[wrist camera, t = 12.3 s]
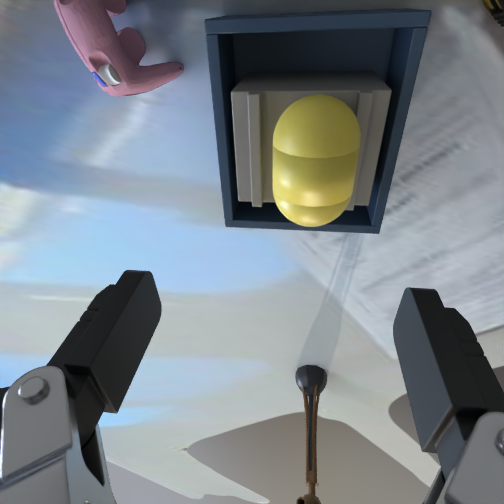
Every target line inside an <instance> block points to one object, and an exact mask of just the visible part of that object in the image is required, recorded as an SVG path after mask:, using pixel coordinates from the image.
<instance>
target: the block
mask: <svg viewBox="0 0 504 504" xmlns="http://www.w3.org/2000/svg"><path fill="white" fill-rule="evenodd" d="M391 92H392V90H391V89H390V88H389V87H388V86H387V85H386V84H385V82H384V81H383V80H382V79H381V78H380V77H379V76H378V75H377V74H376V73H375V72H374V71H328V72H272V73H247V74H246V75H245V76H244V77H243V79H242V80H241V81H240V82H239V83H238V84H237V86H236V87H235V88H234V89H233V90H232V91H231V101H232V115H233V130H234V145H235V159H236V174H237V188H238V200H239V201H251V202H252V206H253V207H262V204H263V202H275V199H274V196H273V134H274V130H275V127H276V124H277V122H278V120H279V118H280V117H281V115H282V114H283V112H284V111H285V110H286V109H287V108H288V107H289V106H290V105H291V104H293V103H294V102H295V101H297V100H299V99H301V98H303V97H306V96H310V95H315V94H324V95H329V96H333V97H336V98H337V99H339V100H341V101H343V102H344V103H345V104H346V105H347V106H349V107H350V109H351V110H352V111H353V113H354V114H355V116H356V118H357V120H358V123H359V126H360V133H361V141H360V150H359V156H358V162H357V168H356V174H355V180H354V187H353V193H352V196H351V199H350V202H349V204H348V205H347V207H346V209H345V210H354V205H367V206H368V205H369V201H370V196H371V191H372V186H373V181H374V176H375V171H376V166H377V161H378V157H379V152H380V147H381V142H382V137H383V132H384V127H385V122H386V117H387V112H388V107H389V102H390V97H391Z"/></svg>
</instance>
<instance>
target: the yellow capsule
mask: <svg viewBox="0 0 504 504" xmlns="http://www.w3.org/2000/svg"><path fill="white" fill-rule="evenodd" d="M360 141H361V133H360V126H359V123H358V120H357V118H356V116H355V114H354V113H353V111H352V110H351V109H350V107H349V106H347V105H346V104H345V103H344V102H343V101H341V100H339V99H337V98H336V97H333V96H329V95H324V94H315V95H310V96H306V97H303V98H301V99H299V100H297V101H295V102H294V103H293V104H291V105H290V106H289V107H288V108H287V109H286V110H285V111H284V112H283V114H282V115H281V117H280V118H279V120H278V122H277V124H276V127H275V130H274V134H273V196H274V199H275V202H276V205H277V207H278V208H279V210H280V212H281V213H282V214H283V215H284V216H285V217H286V218H287V219H289V220H290V221H292V222H294V223H296V224H298V225H301V226H307V227H316V226H321V225H324V224H327V223H330V222H331V221H333V220H335V219H336V218H337V217H339V216H340V215H341V214H342V212H343V211H344V210H345V209H346V207H347V205H348V204H349V202H350V199H351V196H352V193H353V187H354V180H355V174H356V168H357V162H358V156H359V150H360Z"/></svg>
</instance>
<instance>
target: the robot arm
mask: <svg viewBox="0 0 504 504" xmlns="http://www.w3.org/2000/svg"><path fill="white" fill-rule="evenodd" d="M160 317H161V301H160V298H159V295H158V291H157V288H156V285H155V281H154V278H153V275H152V273H151V272H150V271H138V270H126V271H125V272H124V273H123V274H122V276H121V277H120V279H119V280H118V282H117V283H116V285H111V284H110V285H109V286H107V287H106V288H105V289H104V290H102V291H101V292H100V293H99V294H97V295H96V296H95V298H94V299H93V301H92V302H91V303H90V305H89V306H88V308H87V311H85V312H84V313H83V315H82V316H81V318H80V321H79V322H77V323H76V325H75V326H74V327H73V329H72V330H71V332H70V333H69V335H68V336H67V337H66V339H65V340H64V342H63V343H62V344H61V346H60V347H59V349H58V350H57V352H56V353H55V354H54V356H53V357H52V359H51V360H50V361H49V363H48V364H47V365H46V366H43V367H39V368H36V369H33V370H31V371H29V372H27V373H26V374H24V375H23V376H21V377H20V378H19V379H17V380H16V381H15V382H14V383H13V384H12V386H10V387H5V388H0V504H117V503H116V500H115V498H114V496H113V493H112V489H111V485H110V480H109V475H108V470H107V465H106V459H105V454H104V449H103V443H102V438H101V433H100V428H99V425H98V421H99V419H100V417H101V415H102V413H103V412H109V413H118V410H119V408H120V406H121V404H122V402H123V399H124V397H125V395H126V393H127V391H128V389H129V386H130V384H131V382H132V380H133V378H134V375H135V373H136V371H137V369H138V367H139V364H140V362H141V360H142V358H143V356H144V353H145V351H146V349H147V347H148V345H149V343H150V340H151V338H152V336H153V334H154V332H155V329H156V327H157V325H158V323H159V320H160ZM393 337H394V343H395V347H396V351H397V354H398V358H399V362H400V366H401V370H402V374H403V378H404V382H405V386H406V390H407V394H408V398H409V402H410V406H411V409H412V414H413V418H414V422H415V425H416V430H417V434H418V437H419V441H420V446H421V450H422V452H430V453H437V454H438V458H439V461H440V465H441V468H440V469H439V471H438V473H437V475H436V477H435V479H434V481H433V483H432V485H431V487H430V489H429V491H428V493H427V496H426V498H425V500H424V502H423V504H504V393H503V390H502V388H501V386H500V384H499V382H498V380H497V378H496V376H495V374H494V372H493V370H492V368H491V366H490V364H489V362H488V360H487V358H486V356H484V352H483V350H482V348H481V346H480V344H479V342H477V338H476V336H475V334H474V332H473V330H472V328H471V326H470V324H469V322H468V321H467V320H466V319H465V318H464V317H463V316H462V315H461V314H460V313H459V312H458V311H457V310H456V309H455V308H444V306H443V303H442V301H441V299H440V297H439V294H438V292H437V291H436V290H435V289H425V288H406V289H405V291H404V293H403V296H402V299H401V302H400V305H399V308H398V311H397V314H396V317H395V320H394V325H393Z"/></svg>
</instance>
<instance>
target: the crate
mask: <svg viewBox="0 0 504 504" xmlns="http://www.w3.org/2000/svg"><path fill="white" fill-rule="evenodd" d="M430 16H431V10H420V9H385V10H361V11H336V12H312V13H288V14H263V15H239V16H222V17H216V18H210V19H205V29H206V34H207V35H206V41H207V50H208V60H209V70H210V80H211V90H212V100H213V110H214V120H215V130H216V140H217V150H218V160H219V169H220V179H221V189H222V199H223V209H224V219H225V226H226V227H239V228H261V229H283V230H306V231H328V232H350V233H372V234H379V232H380V228H381V224H382V219H383V215H384V211H385V207H386V203H387V198H388V194H389V190H390V186H391V181H392V177H393V173H394V169H395V164H396V160H397V156H398V152H399V147H400V143H401V139H402V135H403V130H404V126H405V122H406V118H407V114H408V109H409V105H410V101H411V97H412V92H413V88H414V84H415V80H416V75H417V71H418V67H419V63H420V58H421V54H422V50H423V46H424V42H425V37H426V33H427V26H428V25H429V20H430ZM328 71H374V72H375V73H376V74H377V75H378V76H379V77H380V78H381V79H382V80H383V81H384V82H385V84H386V85H387V86H388V87H389V88H390V89H391V90H392V92H391V97H390V102H389V107H388V112H387V117H386V122H385V127H384V132H383V137H382V142H381V147H380V152H379V157H378V161H377V166H376V171H375V176H374V181H373V186H372V191H371V196H370V201H369V205H368V206H367V205H354V210H344V211H343V212H342V214H341V215H340V216H339V217H337V218H336V219H335V220H333V221H331V222H330V223H327V224H324V225H321V226H316V227H307V226H301V225H298V224H296V223H294V222H292V221H290V220H289V219H287V218H286V217H285V216H284V215H283V214H282V213H281V212H280V210H279V208H278V207H277V205H276V202H263V204H262V207H253V206H252V202H251V201H239V200H238V188H237V174H236V159H235V145H234V130H233V115H232V101H231V91H232V90H233V89H234V88H235V87H236V86H237V84H238V83H239V82H240V81H241V80H242V79H243V77H244V76H245V75H246V74H247V73H272V72H328Z"/></svg>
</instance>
